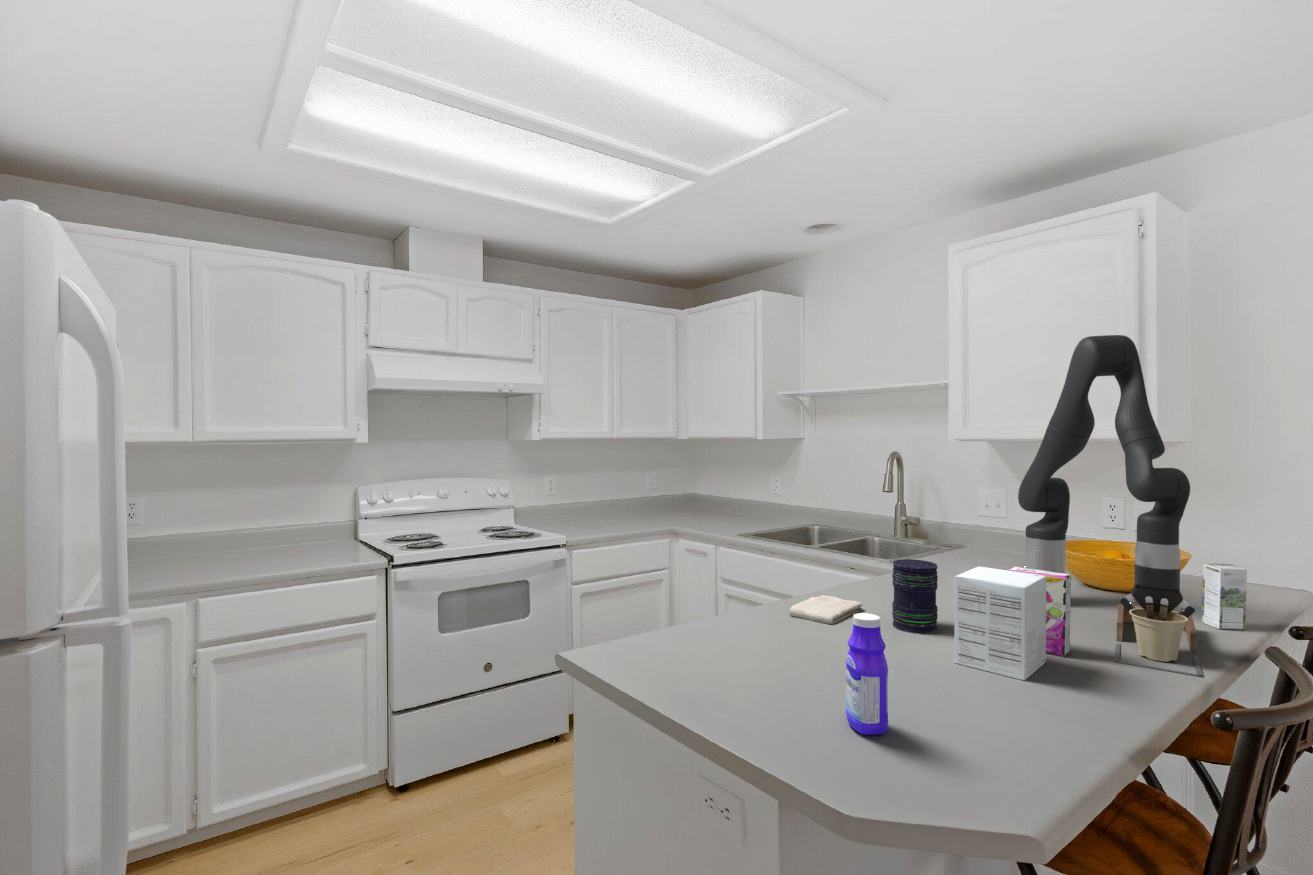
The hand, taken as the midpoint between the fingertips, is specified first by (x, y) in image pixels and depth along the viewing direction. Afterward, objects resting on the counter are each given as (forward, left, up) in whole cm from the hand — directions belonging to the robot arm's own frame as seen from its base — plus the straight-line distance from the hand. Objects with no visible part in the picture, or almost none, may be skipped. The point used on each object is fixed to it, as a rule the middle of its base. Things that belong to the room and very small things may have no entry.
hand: (1155, 645), depth 136 cm
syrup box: (+13, +30, -1) cm, 33 cm away
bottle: (-37, -70, -1) cm, 79 cm away
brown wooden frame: (0, +12, -1) cm, 12 cm away
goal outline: (0, -6, -1) cm, 6 cm away
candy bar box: (-20, -13, -1) cm, 24 cm away
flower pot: (0, -5, -1) cm, 5 cm away
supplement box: (-25, -27, -1) cm, 37 cm away
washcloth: (-66, -14, -2) cm, 68 cm away
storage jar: (-45, -13, -1) cm, 47 cm away
